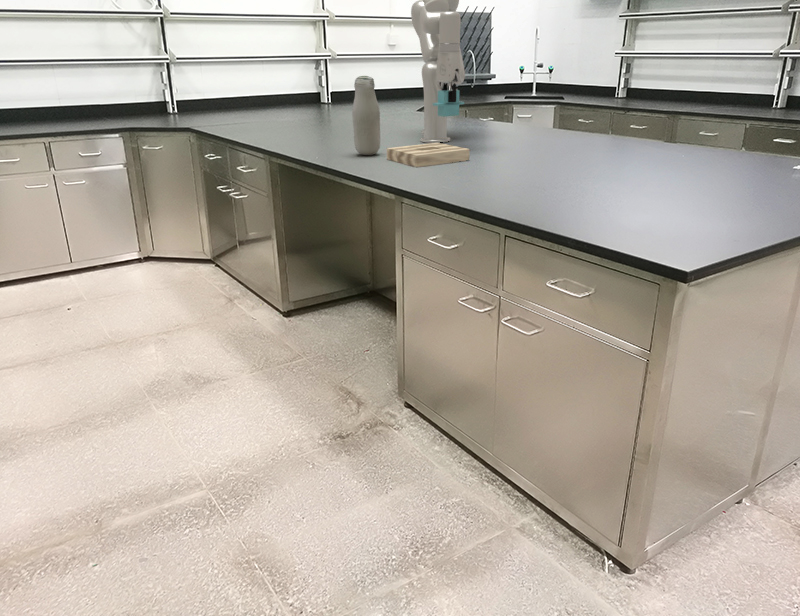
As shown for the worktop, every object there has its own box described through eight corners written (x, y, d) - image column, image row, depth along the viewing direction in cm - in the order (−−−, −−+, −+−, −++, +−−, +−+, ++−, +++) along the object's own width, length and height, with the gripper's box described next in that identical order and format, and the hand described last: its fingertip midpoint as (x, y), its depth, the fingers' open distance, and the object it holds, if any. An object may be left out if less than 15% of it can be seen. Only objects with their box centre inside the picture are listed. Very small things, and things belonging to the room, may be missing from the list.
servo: (432, 116, 236) (432, 88, 233) (457, 113, 242) (458, 87, 238) (438, 117, 233) (438, 89, 229) (463, 114, 239) (464, 87, 235)
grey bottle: (382, 152, 240) (379, 74, 230) (378, 157, 231) (376, 76, 220) (356, 152, 241) (353, 75, 231) (352, 157, 232) (348, 76, 221)
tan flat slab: (386, 159, 226) (386, 148, 225) (437, 153, 237) (437, 142, 235) (416, 167, 210) (416, 155, 209) (469, 160, 221) (469, 149, 219)
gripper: (428, 49, 233) (428, 100, 240) (454, 49, 220) (453, 104, 227) (444, 48, 237) (444, 99, 244) (471, 48, 223) (470, 102, 231)
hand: (448, 101), depth 235 cm, fingers closed on servo, 4 cm apart
